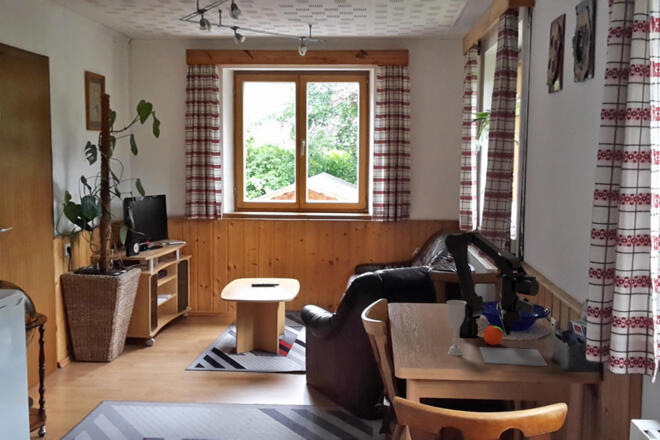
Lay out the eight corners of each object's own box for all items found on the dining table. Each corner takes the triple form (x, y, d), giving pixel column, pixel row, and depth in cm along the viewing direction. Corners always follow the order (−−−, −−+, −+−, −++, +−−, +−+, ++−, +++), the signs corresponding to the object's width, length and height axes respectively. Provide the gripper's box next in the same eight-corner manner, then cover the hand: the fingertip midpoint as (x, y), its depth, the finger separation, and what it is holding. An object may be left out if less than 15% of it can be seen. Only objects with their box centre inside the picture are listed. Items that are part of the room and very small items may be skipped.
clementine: (507, 344, 235) (509, 326, 234) (500, 350, 229) (502, 330, 228) (486, 339, 239) (488, 321, 238) (479, 344, 234) (481, 325, 232)
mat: (484, 363, 212) (484, 362, 212) (479, 348, 230) (479, 347, 230) (547, 366, 210) (547, 365, 210) (537, 350, 227) (537, 349, 227)
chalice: (460, 357, 218) (462, 305, 217) (441, 354, 222) (443, 302, 220) (468, 352, 225) (469, 301, 223) (449, 349, 228) (451, 299, 227)
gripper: (537, 297, 220) (535, 342, 221) (527, 287, 238) (526, 329, 239) (503, 296, 221) (502, 341, 222) (497, 286, 239) (495, 327, 241)
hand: (507, 334), depth 231 cm, fingers closed
